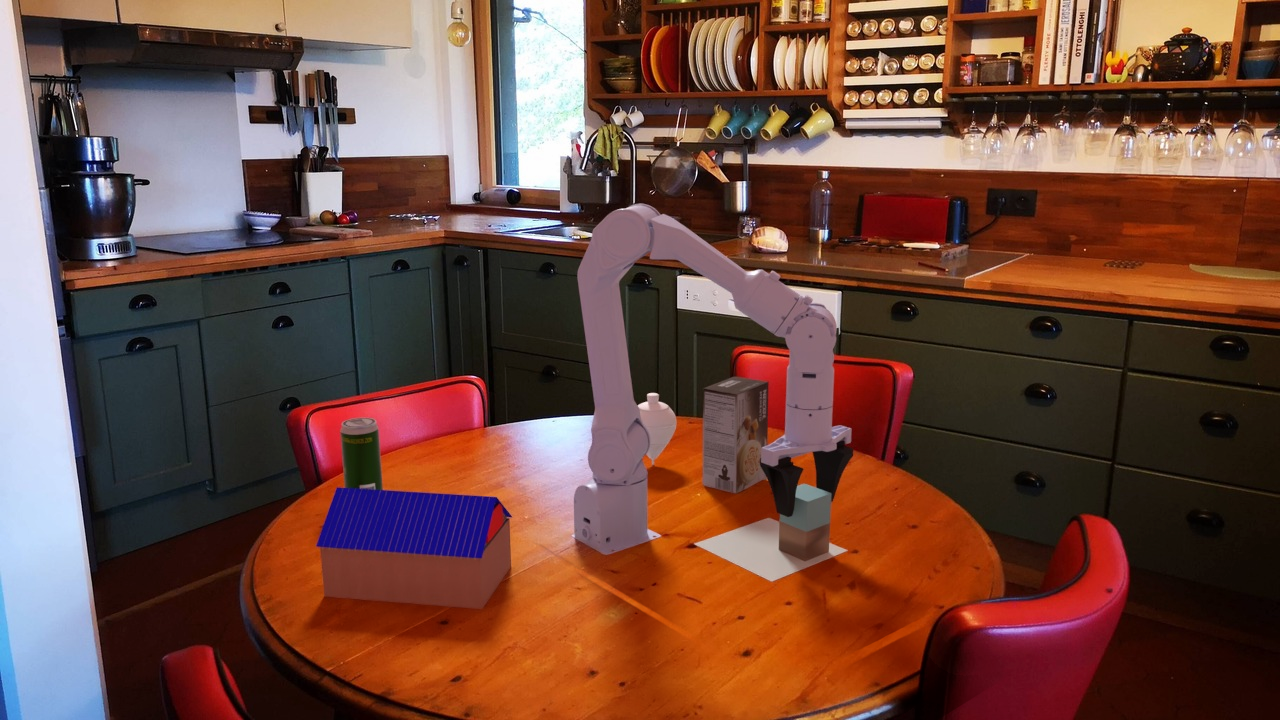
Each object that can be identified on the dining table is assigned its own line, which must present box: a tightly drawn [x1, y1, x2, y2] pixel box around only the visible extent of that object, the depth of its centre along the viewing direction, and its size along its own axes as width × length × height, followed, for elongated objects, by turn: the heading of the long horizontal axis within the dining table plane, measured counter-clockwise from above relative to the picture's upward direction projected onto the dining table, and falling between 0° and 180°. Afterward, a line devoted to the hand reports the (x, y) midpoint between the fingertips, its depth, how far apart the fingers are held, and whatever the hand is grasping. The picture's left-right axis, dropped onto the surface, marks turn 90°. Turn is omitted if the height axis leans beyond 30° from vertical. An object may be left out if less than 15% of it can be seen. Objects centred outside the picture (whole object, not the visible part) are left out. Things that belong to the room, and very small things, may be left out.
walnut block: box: [778, 520, 831, 561], centre depth 123 cm, size 4×4×4 cm
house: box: [315, 486, 514, 610], centre depth 116 cm, size 12×20×12 cm, turn 80°
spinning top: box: [637, 392, 678, 466], centre depth 157 cm, size 8×8×12 cm
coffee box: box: [702, 376, 770, 494], centre depth 147 cm, size 9×6×16 cm
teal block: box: [779, 483, 832, 532], centre depth 122 cm, size 4×4×4 cm
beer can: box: [339, 417, 384, 490], centre depth 142 cm, size 5×5×12 cm
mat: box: [693, 517, 849, 583], centre depth 125 cm, size 14×14×1 cm
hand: (805, 506), depth 123 cm, fingers open, 7 cm apart
